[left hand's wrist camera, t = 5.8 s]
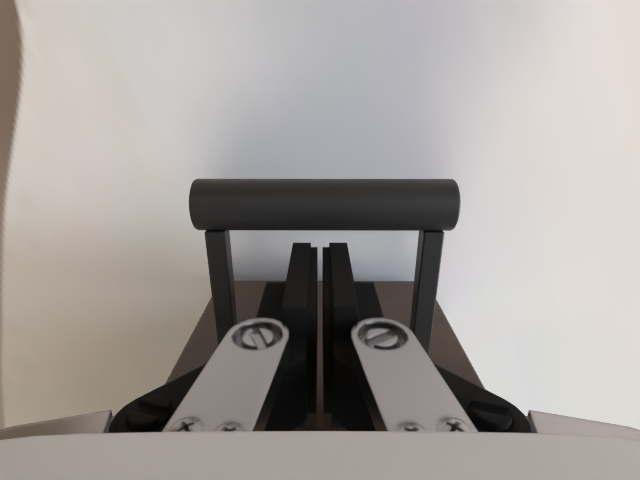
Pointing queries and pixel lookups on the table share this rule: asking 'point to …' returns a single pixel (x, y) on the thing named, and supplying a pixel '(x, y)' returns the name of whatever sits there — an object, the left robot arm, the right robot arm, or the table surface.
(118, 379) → the table surface
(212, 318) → the drawer
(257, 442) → the left robot arm
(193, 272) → the table surface
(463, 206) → the table surface
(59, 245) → the table surface
